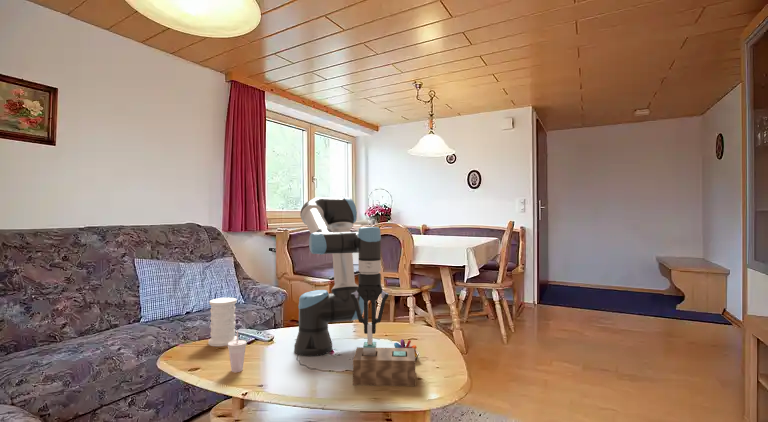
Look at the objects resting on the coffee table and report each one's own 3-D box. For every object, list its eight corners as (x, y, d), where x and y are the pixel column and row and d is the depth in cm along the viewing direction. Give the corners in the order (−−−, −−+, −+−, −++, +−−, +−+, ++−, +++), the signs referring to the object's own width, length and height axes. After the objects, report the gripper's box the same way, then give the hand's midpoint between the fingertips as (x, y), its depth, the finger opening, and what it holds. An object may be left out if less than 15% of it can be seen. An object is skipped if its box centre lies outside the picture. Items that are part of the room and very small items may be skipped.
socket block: (352, 385, 126) (352, 360, 126) (357, 370, 138) (356, 347, 138) (415, 386, 125) (415, 360, 125) (414, 371, 137) (414, 348, 137)
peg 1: (363, 370, 130) (363, 345, 130) (364, 365, 134) (364, 341, 134) (375, 370, 129) (375, 345, 130) (376, 365, 133) (376, 342, 133)
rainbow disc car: (415, 363, 144) (415, 343, 144) (390, 362, 146) (389, 342, 146) (418, 355, 152) (418, 337, 152) (393, 354, 154) (393, 335, 154)
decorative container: (231, 346, 163) (231, 303, 164) (203, 346, 164) (203, 303, 164) (241, 337, 175) (241, 297, 175) (215, 337, 175) (215, 297, 175)
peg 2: (393, 379, 129) (393, 355, 129) (393, 374, 133) (393, 351, 133) (405, 380, 129) (405, 355, 129) (405, 375, 133) (405, 351, 133)
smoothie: (228, 375, 134) (228, 334, 134) (226, 368, 140) (226, 329, 140) (248, 371, 137) (248, 331, 137) (245, 365, 142) (245, 326, 143)
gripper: (348, 274, 128) (349, 346, 128) (388, 274, 128) (389, 347, 127) (351, 271, 136) (352, 339, 135) (389, 271, 135) (389, 339, 135)
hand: (370, 343), depth 131 cm, fingers closed
